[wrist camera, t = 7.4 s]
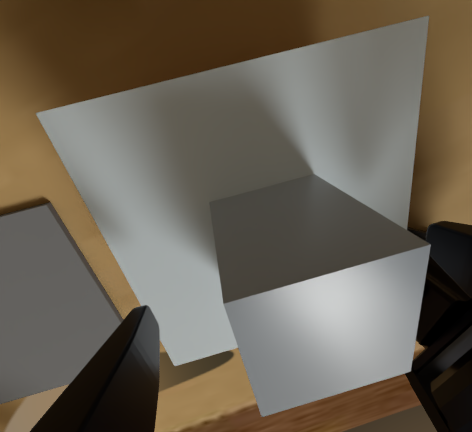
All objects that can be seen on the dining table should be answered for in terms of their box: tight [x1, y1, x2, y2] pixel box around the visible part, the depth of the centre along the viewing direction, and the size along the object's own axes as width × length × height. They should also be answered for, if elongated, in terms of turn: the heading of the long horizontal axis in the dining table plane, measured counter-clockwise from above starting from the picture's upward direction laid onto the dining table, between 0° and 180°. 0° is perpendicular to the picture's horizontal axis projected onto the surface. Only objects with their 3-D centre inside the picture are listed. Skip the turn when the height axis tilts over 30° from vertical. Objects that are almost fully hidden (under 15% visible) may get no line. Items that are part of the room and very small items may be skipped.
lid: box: [36, 16, 431, 417], centre depth 8 cm, size 12×12×6 cm
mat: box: [0, 202, 123, 404], centre depth 16 cm, size 14×14×1 cm
